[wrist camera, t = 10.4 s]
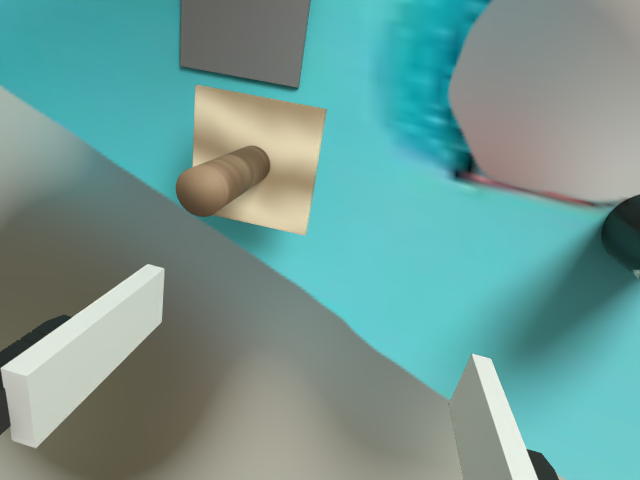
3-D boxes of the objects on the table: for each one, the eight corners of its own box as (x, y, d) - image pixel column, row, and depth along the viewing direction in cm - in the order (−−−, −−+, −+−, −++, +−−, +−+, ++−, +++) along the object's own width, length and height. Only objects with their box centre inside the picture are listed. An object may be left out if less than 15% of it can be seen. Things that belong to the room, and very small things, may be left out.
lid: (199, 85, 35) (113, 82, 24) (326, 109, 33) (297, 117, 23) (195, 208, 39) (121, 252, 28) (306, 232, 38) (274, 288, 27)
